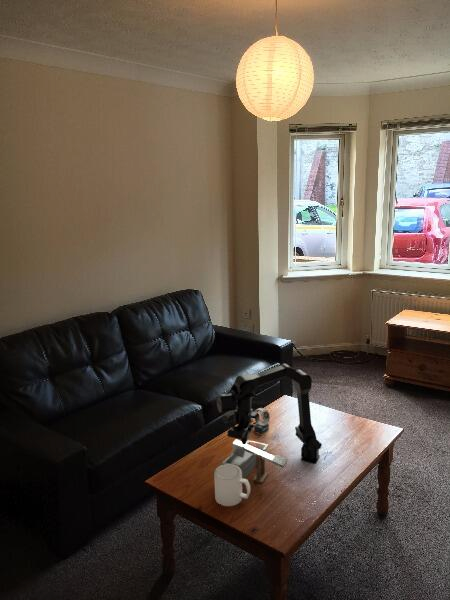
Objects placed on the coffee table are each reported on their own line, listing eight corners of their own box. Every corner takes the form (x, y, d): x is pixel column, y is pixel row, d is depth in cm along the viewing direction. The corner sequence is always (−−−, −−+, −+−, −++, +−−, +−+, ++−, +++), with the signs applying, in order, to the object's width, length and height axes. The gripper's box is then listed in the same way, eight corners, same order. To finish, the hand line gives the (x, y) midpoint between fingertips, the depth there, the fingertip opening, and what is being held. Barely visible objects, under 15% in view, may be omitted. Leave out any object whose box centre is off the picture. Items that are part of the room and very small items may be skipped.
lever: (284, 471, 186) (287, 459, 185) (280, 478, 182) (283, 466, 180) (234, 449, 195) (237, 437, 193) (229, 455, 190) (231, 443, 189)
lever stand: (268, 474, 191) (268, 449, 188) (262, 483, 185) (261, 457, 183) (259, 472, 193) (258, 447, 190) (252, 480, 187) (252, 455, 185)
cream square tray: (268, 451, 207) (268, 444, 207) (259, 463, 199) (259, 455, 198) (248, 447, 212) (248, 440, 211) (239, 458, 203) (239, 450, 203)
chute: (257, 462, 200) (257, 444, 198) (239, 486, 184) (239, 467, 182) (241, 458, 203) (241, 440, 201) (222, 481, 187) (221, 463, 185)
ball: (254, 444, 204) (254, 453, 203) (258, 442, 207) (258, 451, 207) (246, 443, 206) (246, 453, 205) (250, 441, 209) (250, 451, 209)
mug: (254, 493, 179) (254, 468, 177) (245, 510, 170) (245, 484, 167) (221, 486, 184) (220, 462, 182) (210, 502, 175) (209, 477, 172)
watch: (264, 435, 221) (264, 413, 219) (251, 430, 227) (251, 408, 224) (272, 431, 225) (271, 409, 223) (258, 425, 231) (258, 404, 228)
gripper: (235, 395, 197) (235, 429, 200) (214, 413, 181) (215, 450, 184) (260, 399, 192) (260, 435, 196) (241, 419, 176) (241, 457, 179)
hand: (244, 444), depth 189 cm, fingers closed
